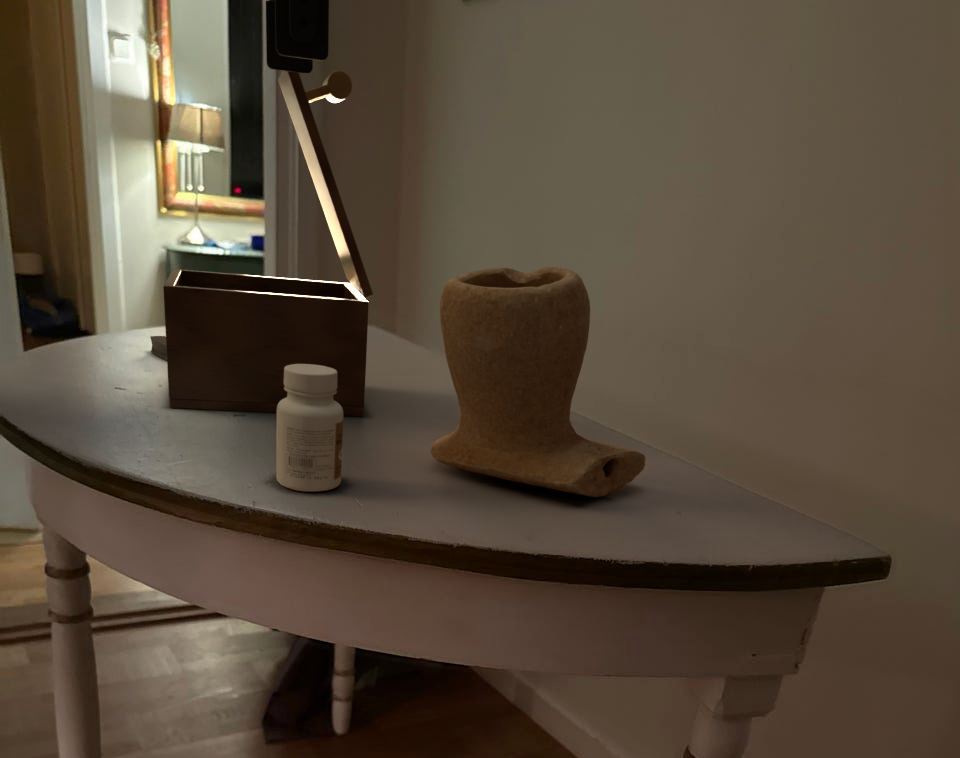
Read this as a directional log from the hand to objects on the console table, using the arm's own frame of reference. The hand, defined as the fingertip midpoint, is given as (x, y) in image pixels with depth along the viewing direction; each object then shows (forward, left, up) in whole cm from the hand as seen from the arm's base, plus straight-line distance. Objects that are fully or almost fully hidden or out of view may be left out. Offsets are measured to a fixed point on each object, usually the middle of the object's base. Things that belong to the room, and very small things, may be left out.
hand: (295, 64), depth 61 cm
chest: (-2, +16, -26) cm, 30 cm away
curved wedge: (-8, +31, -26) cm, 41 cm away
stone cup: (+16, -9, -26) cm, 32 cm away
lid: (+3, +16, -7) cm, 18 cm away
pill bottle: (0, -11, -26) cm, 28 cm away
